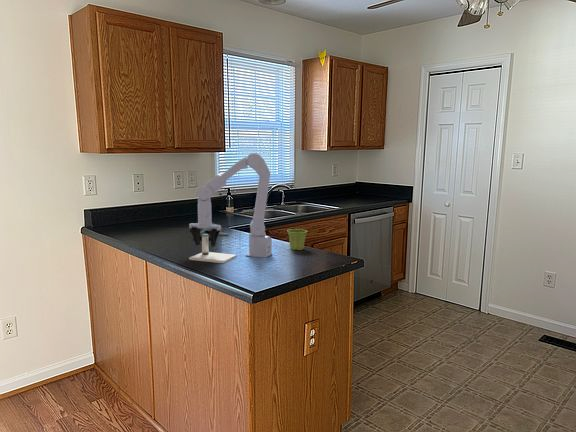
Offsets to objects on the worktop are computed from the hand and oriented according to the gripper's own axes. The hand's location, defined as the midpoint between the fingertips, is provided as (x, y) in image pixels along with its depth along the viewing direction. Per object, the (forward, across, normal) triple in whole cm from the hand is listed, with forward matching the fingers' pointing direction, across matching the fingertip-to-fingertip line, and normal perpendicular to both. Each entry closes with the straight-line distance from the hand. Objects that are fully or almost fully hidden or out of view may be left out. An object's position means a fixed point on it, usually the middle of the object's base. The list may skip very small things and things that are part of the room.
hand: (205, 245), depth 183 cm
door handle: (+5, -19, +38) cm, 43 cm away
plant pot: (+5, +32, +28) cm, 43 cm away
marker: (+4, 0, 0) cm, 4 cm away
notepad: (+5, +5, -2) cm, 7 cm away
